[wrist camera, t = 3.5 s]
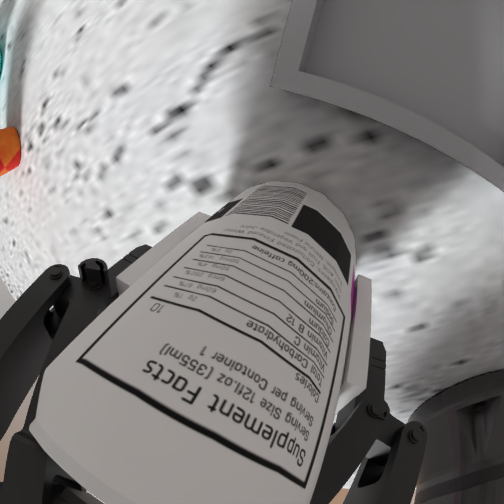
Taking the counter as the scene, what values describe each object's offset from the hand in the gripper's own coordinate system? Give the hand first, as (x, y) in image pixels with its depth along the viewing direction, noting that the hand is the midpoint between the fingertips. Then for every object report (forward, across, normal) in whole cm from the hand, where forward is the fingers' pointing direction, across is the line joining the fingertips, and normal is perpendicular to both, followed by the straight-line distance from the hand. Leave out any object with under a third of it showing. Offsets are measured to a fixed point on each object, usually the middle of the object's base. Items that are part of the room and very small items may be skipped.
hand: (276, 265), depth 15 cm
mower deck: (+2, -4, -24) cm, 24 cm away
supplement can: (+2, 0, 0) cm, 2 cm away
